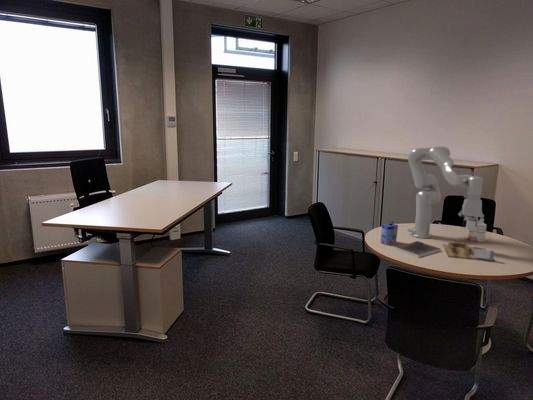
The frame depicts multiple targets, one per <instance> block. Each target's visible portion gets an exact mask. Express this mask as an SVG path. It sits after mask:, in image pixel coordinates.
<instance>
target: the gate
mask: <svg viewBox="0 0 533 400" xmlns="http://www.w3.org/2000/svg"><path fill="white" fill-rule="evenodd" d="M494 255H495V251H494V250H488V249H486V250H479V249H474V256H473V258H481V259H490V260H493V259H494Z"/></svg>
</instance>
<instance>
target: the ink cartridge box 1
mask: <svg viewBox="0 0 533 400" xmlns="http://www.w3.org/2000/svg"><path fill="white" fill-rule="evenodd" d="M394 222H395V221H394V220H393V221H390V222H389V223H385V224H382V225H381V232H380V243H381V244H383V245H386V246H388V245H391V244H396V243H397V239H398V238H397V236H398V230H399V229H398V228H399V225H398V224H397V223H394Z"/></svg>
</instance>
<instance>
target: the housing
mask: <svg viewBox="0 0 533 400" xmlns="http://www.w3.org/2000/svg"><path fill="white" fill-rule="evenodd" d="M442 248H443V249H444V252H445V253H446V256H447V258H453V259H454V258H456V259H465V260H474V261H475V260H476V261H487V262H495V259H494V258H493V260H490V259H481V258H473V256H474V249H479V250H487V249H486V247H478V246H469V245H468V243H465V242H456V241H455V242H454V241H448V244H446V243H445V244H444V243H443V244H442Z"/></svg>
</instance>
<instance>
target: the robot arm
mask: <svg viewBox="0 0 533 400" xmlns="http://www.w3.org/2000/svg"><path fill="white" fill-rule="evenodd" d="M450 155H451V151H450V149H449V148H448V147H447V146H443V145H442V146H433V147H418V148H415V149H412V150H411V151H410V153H409V154H408V157H407V158H408V159H407V160H408V164H409V167H410V170H411V174H412V178H413V181H414V182H413V183H414V185H415V187H416V189H420V190H421V189H424V190H421V191H420V190H419V191H418V192H417V193H416V195H415V203H416V207H415V209H416V212H415V221H414V222H415V223H414V227H413V228H407V229H406V230H407V232H408V233H411V236H413V237H415V238H420V239H431V238H432V234H431V233H430V229H431V222H432V221H431V219H432V207H431V204H436V203H439V202H440V200H441V198H442V195H441V189H440V186H439V181H438V178H437V177H436V176H435V175H434V174H433V173H432V174H431V173H427V172H426V168H425V166H424V163H422V162H423V161H433V162H434V163H435V164H436V165H437V167H439V168H440V170H441V172H442V176H443V178H444V179H445V181H447V183H448V184H449V185H451V187H454V188H465V187H466V193H465V194H463V198H464V200H463V203H462V206H461V207H462V208H461V210H460V211H459V212H458V213H457V215H458V216H459V217H460V218H461V219H463V220H462V225H463V227H464V228H465V227H466V223H467V221H466V219H467V217H472V218H474V220H475V221H476V225H475V226H477V221H480V220H479V219H481V218H482V219H484V218H485V215H484V213H483V210H482V209H483V203H482V202H483V200H481V196H482V191H483V190H482V188H483V181H484V179H483V178H482V177H480V176H476V175H475V176H474V175H470V174H457V173H456V172H455V171H454V169H453V168H452V167H453V165H454V163H455V162H454V160H453V159H452V158H451V157H450Z"/></svg>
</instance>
